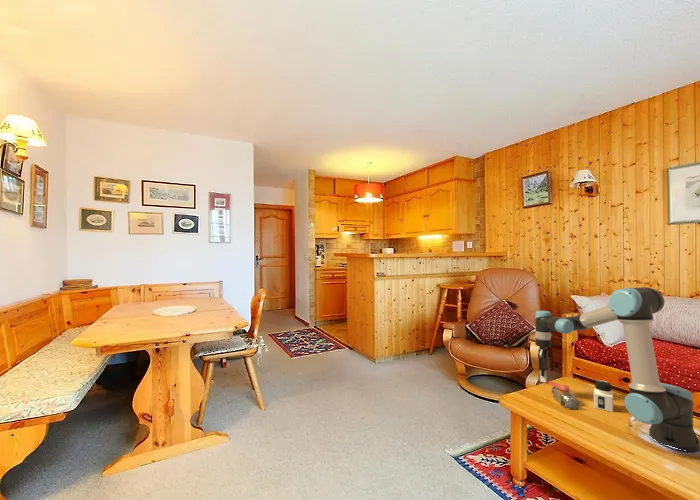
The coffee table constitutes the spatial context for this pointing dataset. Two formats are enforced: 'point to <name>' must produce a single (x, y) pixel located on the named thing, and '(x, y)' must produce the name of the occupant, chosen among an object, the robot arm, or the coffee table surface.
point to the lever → (562, 387)
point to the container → (603, 396)
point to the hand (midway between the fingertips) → (543, 381)
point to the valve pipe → (565, 398)
